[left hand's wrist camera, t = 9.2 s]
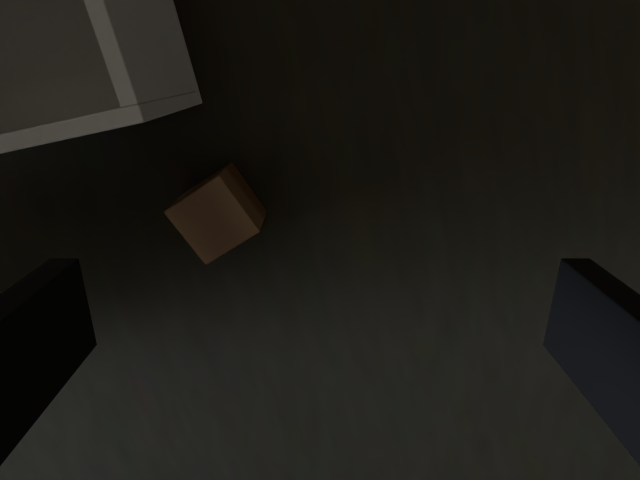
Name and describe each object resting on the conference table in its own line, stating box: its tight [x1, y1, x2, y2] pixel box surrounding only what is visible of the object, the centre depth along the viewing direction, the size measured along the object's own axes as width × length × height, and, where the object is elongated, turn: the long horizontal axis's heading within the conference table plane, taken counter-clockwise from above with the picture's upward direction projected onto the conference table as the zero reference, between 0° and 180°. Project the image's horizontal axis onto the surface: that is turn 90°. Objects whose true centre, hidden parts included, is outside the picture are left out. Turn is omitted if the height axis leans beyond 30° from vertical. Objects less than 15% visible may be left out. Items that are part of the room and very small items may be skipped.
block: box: [164, 162, 267, 265], centre depth 29 cm, size 4×4×4 cm
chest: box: [0, 0, 202, 154], centre depth 23 cm, size 15×10×10 cm, turn 102°
